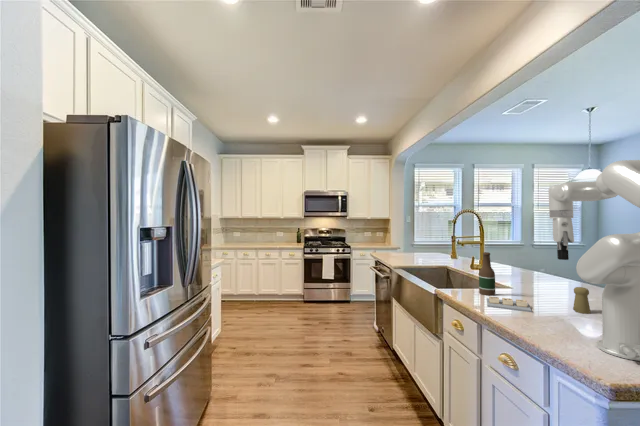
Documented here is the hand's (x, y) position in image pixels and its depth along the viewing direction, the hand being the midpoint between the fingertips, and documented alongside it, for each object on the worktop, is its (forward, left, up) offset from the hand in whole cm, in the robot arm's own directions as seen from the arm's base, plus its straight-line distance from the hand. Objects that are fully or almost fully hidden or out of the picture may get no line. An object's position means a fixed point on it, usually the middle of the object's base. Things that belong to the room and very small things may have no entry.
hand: (563, 259), depth 117 cm
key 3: (+12, +24, -26) cm, 37 cm away
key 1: (+12, +13, -26) cm, 31 cm away
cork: (+21, -10, -26) cm, 35 cm away
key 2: (+12, +19, -26) cm, 34 cm away
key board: (+12, +19, -26) cm, 34 cm away
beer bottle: (+30, +27, -26) cm, 48 cm away
